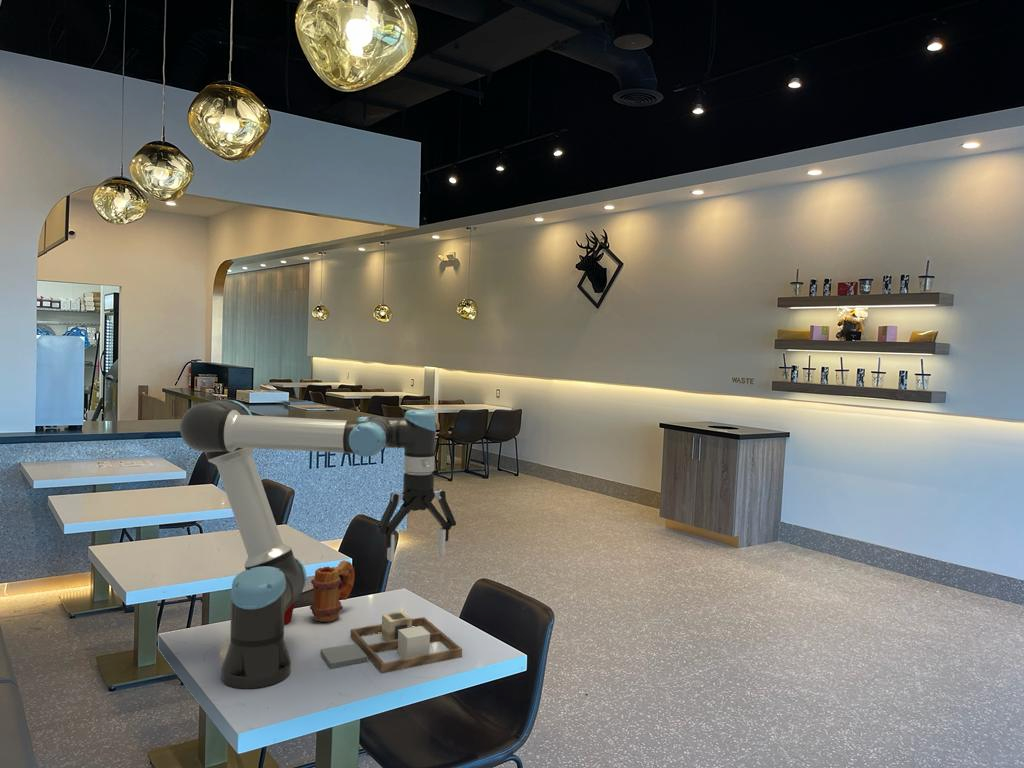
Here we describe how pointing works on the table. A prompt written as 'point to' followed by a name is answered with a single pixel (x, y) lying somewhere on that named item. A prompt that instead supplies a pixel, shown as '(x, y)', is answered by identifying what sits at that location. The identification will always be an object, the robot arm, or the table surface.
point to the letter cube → (394, 624)
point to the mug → (331, 590)
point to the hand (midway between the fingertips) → (416, 557)
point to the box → (388, 645)
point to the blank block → (413, 642)
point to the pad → (343, 655)
